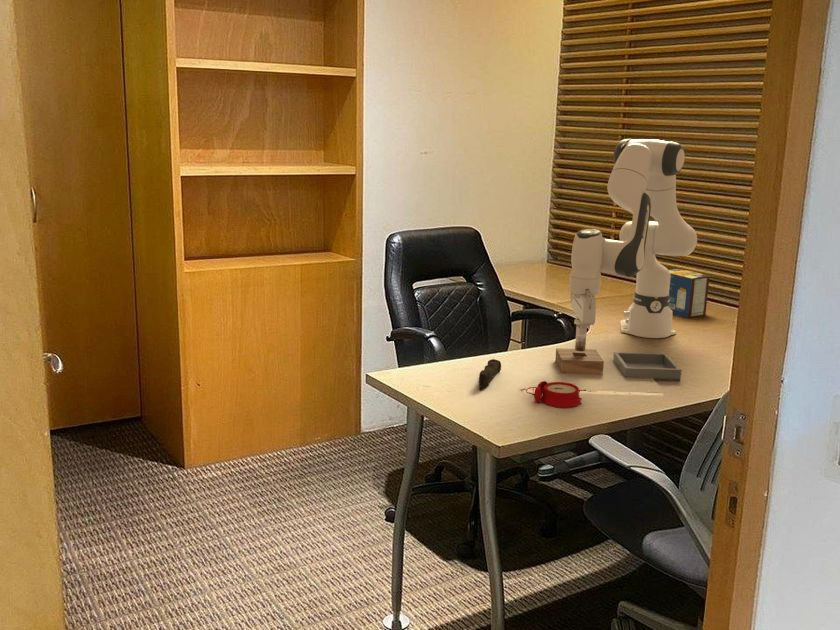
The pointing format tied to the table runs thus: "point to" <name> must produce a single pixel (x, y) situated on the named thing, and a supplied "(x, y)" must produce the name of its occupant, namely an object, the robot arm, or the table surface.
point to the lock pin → (579, 337)
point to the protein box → (688, 293)
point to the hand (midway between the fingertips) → (581, 331)
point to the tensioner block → (579, 361)
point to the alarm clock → (557, 394)
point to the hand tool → (489, 373)
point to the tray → (647, 366)
